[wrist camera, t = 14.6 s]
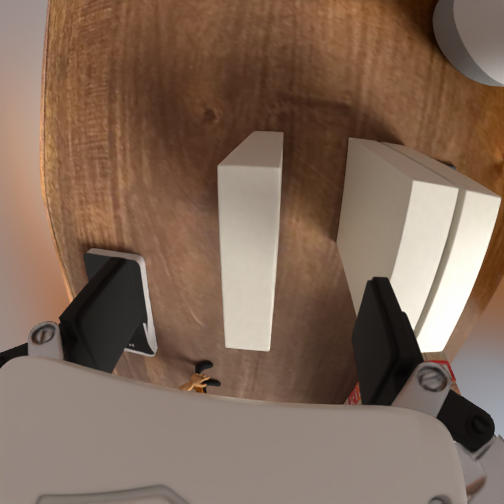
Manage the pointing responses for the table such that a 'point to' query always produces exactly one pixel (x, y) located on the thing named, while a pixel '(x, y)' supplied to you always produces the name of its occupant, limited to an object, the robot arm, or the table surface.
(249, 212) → the cream book
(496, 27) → the smart speaker
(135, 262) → the smartphone
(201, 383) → the action figure
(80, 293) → the robot arm
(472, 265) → the white books
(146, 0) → the table surface
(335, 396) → the table surface
